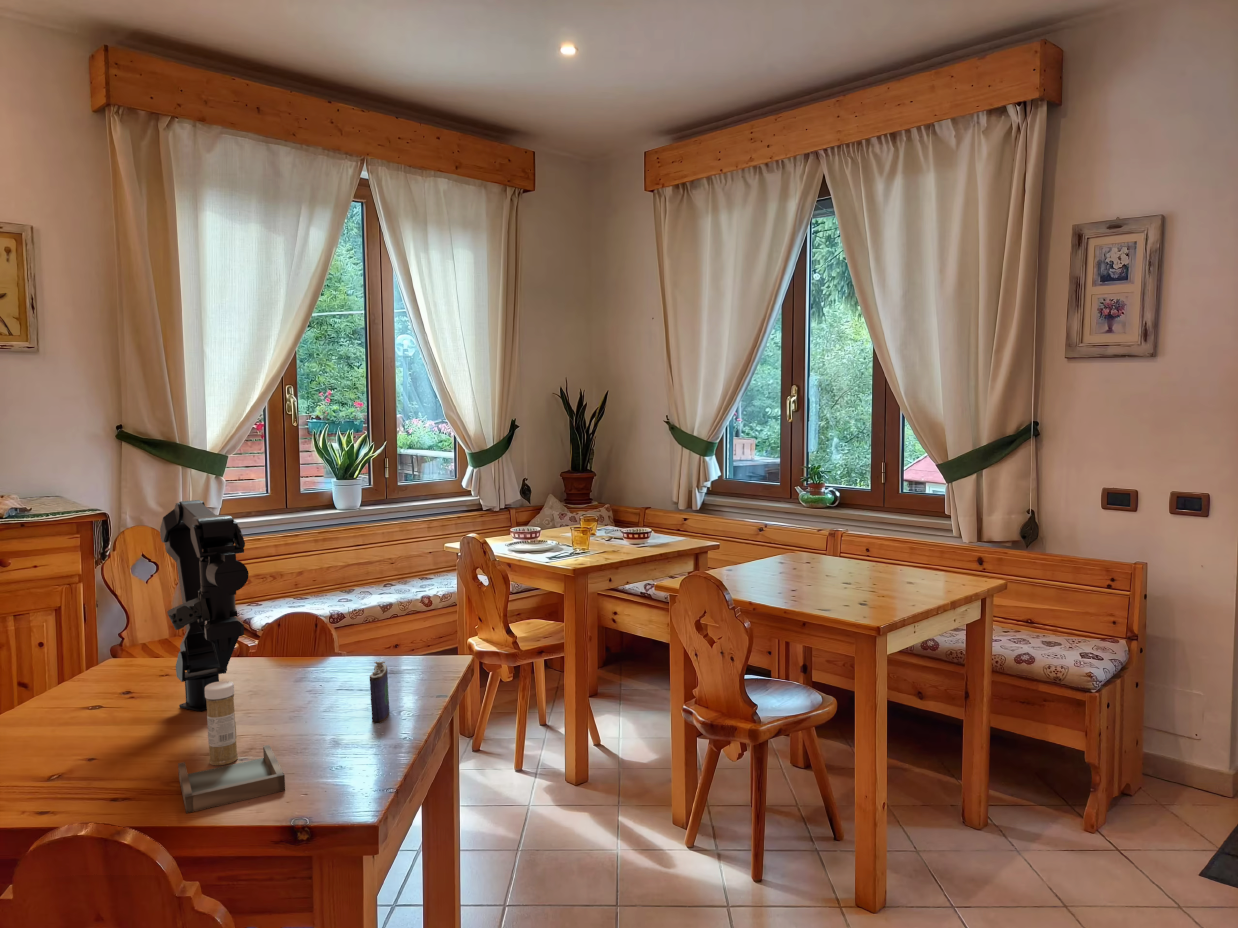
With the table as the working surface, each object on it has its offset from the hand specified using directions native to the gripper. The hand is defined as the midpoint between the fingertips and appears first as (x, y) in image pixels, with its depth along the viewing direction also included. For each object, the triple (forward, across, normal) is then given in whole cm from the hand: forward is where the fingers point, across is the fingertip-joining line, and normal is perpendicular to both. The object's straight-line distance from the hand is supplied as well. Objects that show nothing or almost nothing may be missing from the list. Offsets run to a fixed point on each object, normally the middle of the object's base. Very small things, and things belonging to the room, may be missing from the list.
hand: (221, 665), depth 162 cm
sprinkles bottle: (+12, +17, -2) cm, 21 cm away
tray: (+12, +28, -2) cm, 30 cm away
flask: (+12, +10, +27) cm, 31 cm away
